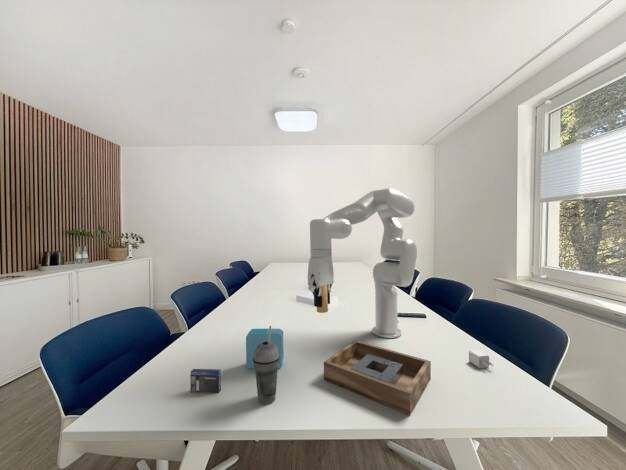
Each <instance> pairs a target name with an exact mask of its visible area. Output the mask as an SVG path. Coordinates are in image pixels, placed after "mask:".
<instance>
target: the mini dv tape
mask: <svg viewBox="0 0 626 470" xmlns="http://www.w3.org/2000/svg"><path fill="white" fill-rule="evenodd" d="M221 371H222V370H221V368H220V369H217V368H216V369H215V368H212V369H211V368H208V369H206V368H193V369H191V370H190V373H189V374H190V375H189V376H190V380H189V381H190V393H198V394H201V393H202V394H204V393H205V394H219V393H220V392H221V390H222V384H221V383H222V375H221V374H222V373H221Z"/></svg>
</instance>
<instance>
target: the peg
mask: <svg viewBox="0 0 626 470" xmlns="http://www.w3.org/2000/svg"><path fill="white" fill-rule="evenodd" d="M316 289H317V290H318V288H316ZM321 296H322V307H316V312H317V313H319V314H320V313H321V314H322V313H323V314H324V313H328V311H329V304H328V292H327V285H325V286H323V287H322V288H321Z"/></svg>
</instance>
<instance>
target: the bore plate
mask: <svg viewBox="0 0 626 470" xmlns="http://www.w3.org/2000/svg"><path fill="white" fill-rule="evenodd" d="M350 369H351V370H354V371H357V372H360V373H362V374H365V375H368V376H371V377H373V378H376V379H379V380H382V381H385V382H387V383H390V384H393V385H395V384H396V383H397V382H398V380H399V379H400V378H401V377H402V375H403V364H400V363H397V362H394V361H390V360H387V359H384V358H380V357H377V356H374V355H371V354H367V355H366V356H365V357H363V358H362V359H361V360H360V361H359V362H358V363H356V364H355V365H354V366H353V367H352V368H350ZM374 370H375V371H374ZM377 371H378V372H377ZM380 372H381V373H380Z"/></svg>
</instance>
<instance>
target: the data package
mask: <svg viewBox="0 0 626 470" xmlns="http://www.w3.org/2000/svg"><path fill="white" fill-rule="evenodd" d="M268 336H269V328H252V329H250V330H249V331H248V333H247V334H246V336H245V354H246V355H245V361H246V362H245V364H246V367H247V368H248V369H249V370H255V367H254V361H253V355H254V351H255V349H256V348H257V346H258V345H259V344H261V343H262V342H266V341H268ZM270 342H272V343H273V344H275V345H276V346H277V348H278V351H279V355H280V358H279V364H278V370H279V369H280V368H282V366H283V362H284V357H285V355H284V349H285V348H284V331H283V329H281V328H271V335H270Z"/></svg>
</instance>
